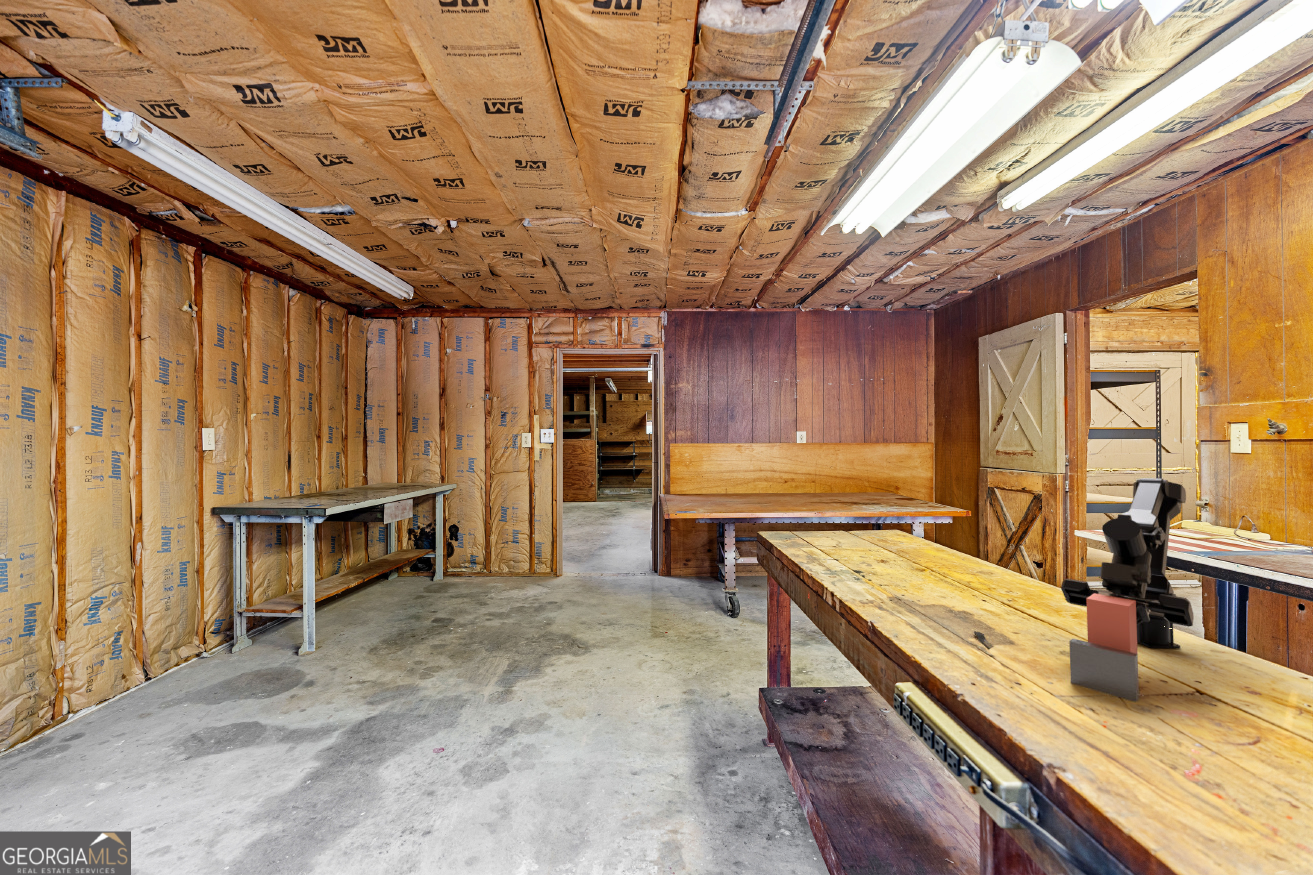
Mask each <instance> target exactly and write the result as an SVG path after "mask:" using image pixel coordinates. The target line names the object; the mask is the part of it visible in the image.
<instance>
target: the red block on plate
mask: <svg viewBox="0 0 1313 875" xmlns="http://www.w3.org/2000/svg"><path fill="white" fill-rule="evenodd" d="M1086 600H1087V607H1086V627H1087V631H1086V632H1087V642H1090V643H1094V644H1098V645H1102V646H1107V647H1111V648H1115V649H1119V650H1123V651H1128V652H1132V653H1136V654H1138V642H1137V625H1136V601H1135V600H1130V599H1124V598H1118V597H1112V596H1107V595H1101V594H1095V593H1094V594H1092V595H1091V596H1089V597H1088V598H1086Z"/></svg>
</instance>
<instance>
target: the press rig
mask: <svg viewBox="0 0 1313 875" xmlns="http://www.w3.org/2000/svg"><path fill="white" fill-rule="evenodd" d="M1068 643H1069V664H1070V667H1069V668H1070V670H1069V671H1070V672H1069V673H1070V683H1071V684H1073V685H1076V686H1080V687H1083V688H1087V689H1090V690H1094V691H1097V692H1101V693H1104V694H1106V695H1107V694H1108V695H1110V696H1114V697H1117V698H1119V699H1120V698H1122V699H1124V700H1128V701H1131V702H1134V703H1137V702H1138V701H1139V699H1140V696H1141V697H1144V696H1145V695H1144V694H1142V693H1140V686H1139V659H1138V658H1139V657H1138V655H1139V654H1138V653H1137V654H1136V653H1132V652H1128V651H1123V650H1119V649H1115V648H1111V647H1107V646H1102V645H1098V644H1094V643H1090V642H1088V641H1085V640H1080V639H1077V638H1071V639H1070V640H1069V642H1068Z"/></svg>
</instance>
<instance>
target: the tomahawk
mask: <svg viewBox="0 0 1313 875" xmlns="http://www.w3.org/2000/svg"><path fill="white" fill-rule="evenodd" d="M973 633H974V635H975V636H976V638H977V640H978V641H979V642H980V643H981V644H982V645H984V647H986V648H987V649H988V650H991V649H993V648H994V647H995V646H994V645H993V644H992V643H991V642H989V641H988V640H987V639H986V636H985V634H984V633H982V632H980V631H979V630H978V631H976V630H974V631H973Z"/></svg>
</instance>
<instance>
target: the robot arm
mask: <svg viewBox="0 0 1313 875" xmlns="http://www.w3.org/2000/svg"><path fill="white" fill-rule="evenodd" d="M1132 485H1133V487H1132V498H1133V499H1132V501H1131V504H1130V506H1129V509H1128V511H1126V512H1123V513H1119V514H1118V515H1117V517H1115V518H1113V519H1110V520H1107V521H1106V522H1105V523H1104V524H1102V533H1103V535H1104V538H1105V541H1106V544H1107V547H1108V550H1109V552H1110V553H1111V554H1112V556H1111V557H1112V558H1111V562H1105V561H1103V562H1101V567H1100V577H1099V578H1100V579H1101V580H1102V582H1101V585H1102V588H1098V589H1091V587H1090V585H1089V582H1088V581H1083V580H1078V579H1072V578H1065V579H1064V580H1063V581H1062V582H1061V586H1060V589H1061V592H1062V594H1063V596H1064V599H1065V601H1066V602H1067V603H1068V604H1069V605H1070V604H1071V605H1074V606H1080V607H1084V608H1087V600H1086V598H1088V597H1089V596H1091V595H1092V594H1094V593H1095V594H1101V595H1107V596H1112V597H1118V598H1124V599H1130V600H1135V601H1136V625H1137V644H1138V643H1139V644H1141V645H1143V646H1145V647H1147V648H1150V649H1181V645H1180V644H1177V643H1175V642H1174V640H1175V639H1174V625H1179V626H1183V627H1187V628H1189V627H1192V626H1193V625H1194V611H1193V608H1192V603H1191V601H1190V600H1189V599H1188V598H1187V597H1182V596H1178V595H1176V593H1174V592H1175V591H1174V589H1173V587H1172V585H1171V583H1170V581H1169V580H1168V578H1167V576H1166V569H1167V562H1168V561H1167V560H1168V549H1169V539H1170V529H1171V528H1170V527H1171V521H1172V520H1173V519H1174V518H1175V517H1177V516H1178V515H1179V514H1181V512H1182V506H1183V504H1186V500H1187V492H1186V488H1185V487H1184V485H1183V484H1179V483H1176V482H1172V481H1168V479H1164V478H1157V477H1156V478H1152V477H1150V478H1149V477H1140V478H1137V479H1136V480H1135V482H1133V484H1132ZM1103 588H1104V589H1103ZM1164 626H1165V627H1164ZM1169 628H1172V629H1169Z"/></svg>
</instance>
